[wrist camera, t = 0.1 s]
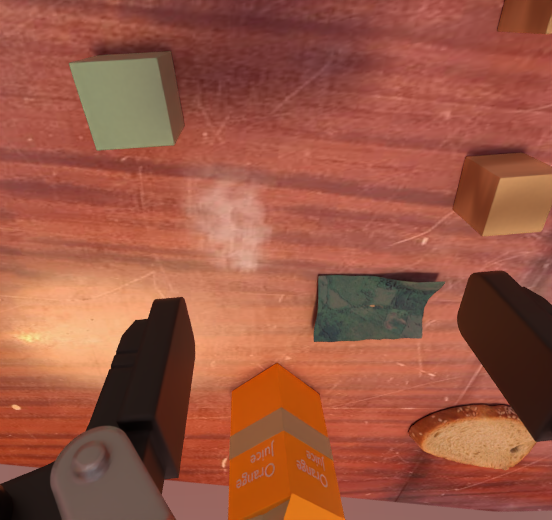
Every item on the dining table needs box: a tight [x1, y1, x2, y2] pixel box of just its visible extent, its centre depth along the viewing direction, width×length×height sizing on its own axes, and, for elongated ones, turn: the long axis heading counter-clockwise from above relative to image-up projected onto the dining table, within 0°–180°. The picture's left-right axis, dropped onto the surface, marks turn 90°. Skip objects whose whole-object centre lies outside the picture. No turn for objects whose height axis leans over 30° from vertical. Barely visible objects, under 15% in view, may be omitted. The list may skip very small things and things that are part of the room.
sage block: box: [69, 51, 184, 150], centre depth 24 cm, size 5×5×5 cm
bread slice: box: [409, 404, 537, 470], centre depth 54 cm, size 18×18×4 cm
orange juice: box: [228, 363, 345, 520], centre depth 38 cm, size 8×9×20 cm
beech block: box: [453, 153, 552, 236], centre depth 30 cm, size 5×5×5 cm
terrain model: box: [314, 275, 445, 342], centre depth 38 cm, size 13×8×2 cm, turn 86°
